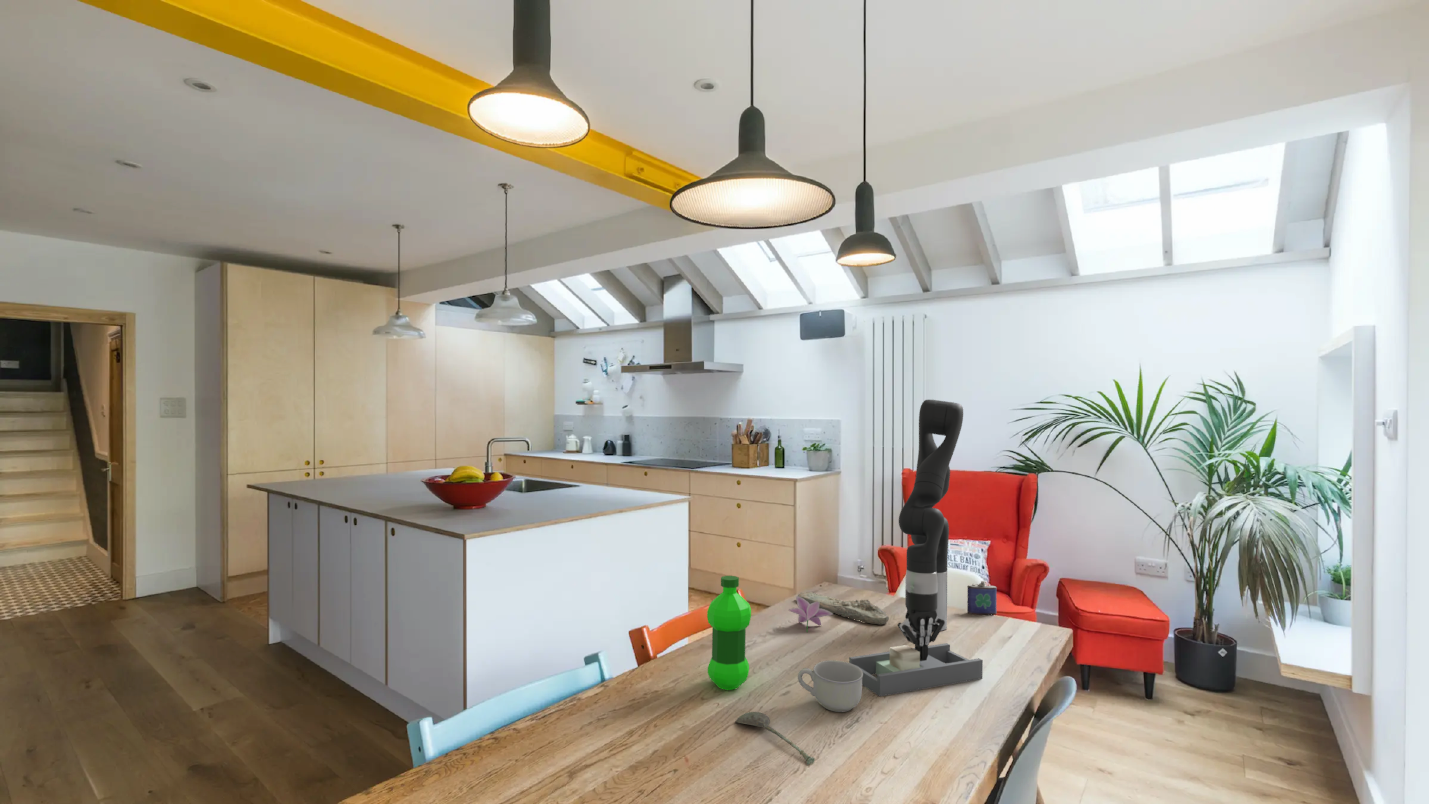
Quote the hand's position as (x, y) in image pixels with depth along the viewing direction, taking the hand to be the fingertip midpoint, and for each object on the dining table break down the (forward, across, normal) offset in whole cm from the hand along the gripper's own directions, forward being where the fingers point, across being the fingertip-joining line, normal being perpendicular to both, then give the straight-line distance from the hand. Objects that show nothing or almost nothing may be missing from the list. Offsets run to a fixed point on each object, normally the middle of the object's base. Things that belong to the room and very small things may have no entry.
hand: (921, 659), depth 160 cm
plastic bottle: (+4, +46, -11) cm, 48 cm away
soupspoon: (+4, +48, +15) cm, 50 cm away
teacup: (+4, +30, +6) cm, 30 cm away
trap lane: (+4, +2, 0) cm, 4 cm away
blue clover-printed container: (+5, -54, -35) cm, 64 cm away
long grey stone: (+5, -11, -52) cm, 53 cm away
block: (+1, +5, 0) cm, 5 cm away
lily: (+4, +7, -41) cm, 42 cm away
